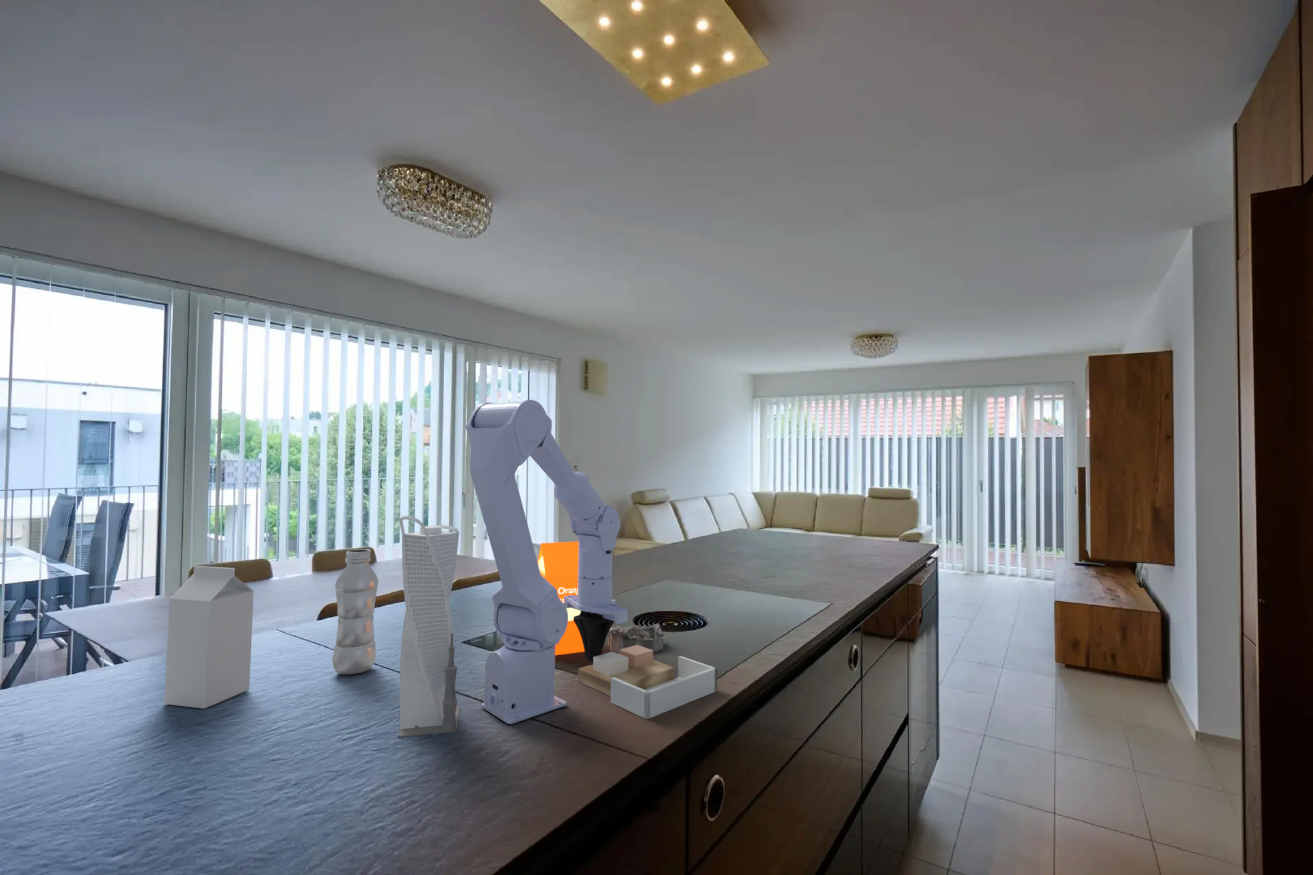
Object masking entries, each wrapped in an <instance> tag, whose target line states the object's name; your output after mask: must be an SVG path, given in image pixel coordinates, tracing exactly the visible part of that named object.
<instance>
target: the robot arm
mask: <svg viewBox="0 0 1313 875" xmlns="http://www.w3.org/2000/svg"><path fill="white" fill-rule="evenodd" d="M465 429H466V433H467V437H468V440H469V443H470V455H469V456H470V460H469V461H470V462H469V472H470V476H471V479H472V481H471V482H472V484H473V487H474V491H475V495H476V498H477V502H478V505H479V508H480V511H481V516H482V519H483V523H484V526H485V530H486V534H487V537H488V540H489V544H490V546H491V551H492V555H493V558H494V561H495V564H496V565H495V566H496V568H497V572H498V576H499V578H500V583H501V585H500V586H499V587H498V588H497V590H496V591H495V592H494V594H493V595H492V596H491V598H492V601H493V606H494V610H493V626H494V628H495V630H496V632H497V633H498V634H500V635H501V636H500V637H501V641H500V642H501V643H503V644H504V645H502V647H500V648H499V649H497V650H494V651H491V652H490V653H489V654H488V656H487V658H486V660H485V664H484V666H485V667H484V694H483V695H484V696H483V697H484V702H482V703H481V708H482V709H484V710H485V711H487V712H489V713H490V714H492V715H493V716H495V717H497V718H498V719H500V720H501V721H502V722H504V723H505V724H509V725H512V724H515V723H518V722H521V721H525V720H528V719H530V718H533V717H536V716H540V715H542V714H545V713H548V712H551V711H554V710H556V709H557V710H558V709H559V708H562V707H566V706H567V701H566V700H564V699H561V698H560V697H558V696H556V695H555V676H556V674H555V673H556V655H555V645H556V644H558V643H559V640H560V639H561V638H562V637H563V635H564V633H565V631H566V628H567V624H568V612H567V608H573V609H576V610H580V611H581V613H580V614H579V615H577V616H574V619H573V621H574V622H575V624H576V626H577V628H578V630H579V633H580V635H581V638H582V642H583V646H584V651H585V652H584V654H585V658H586V660H588V661H591V662H593V657H595V656H599V655H602V653H603V649H604V646H605V642H606V639H607V638H608V632H609V630H610V628H612V627H613V624H614V623H615V624H617V625H621V624H625V623H627V622H628V616H629V615H628V614H629V611H628V609H625V608H623V607H621V606H620V605H618V604H617V602H616V599H612V598H613V550H614V549H615V547H616V545H617V535H618V534H619V531H620V529H621V520H620V516H619V515H620V514H619V513H618V511H617V510H616V509H615V508H614V507H613V506H612V505H609V504H605V502H604V501H603V499H602V498H601V496H600V495H599V493H598V491H596V489H595V487H594V486H593V485H592V483H591V482H590V477H589V475H587V474H585V473H583V472H580V471H574V470H573V468H572V466H571V464H570V463H569V461H568V459H567V458H566V456H565V454H564V453H563V450H562V449H561V447H560V446H559V444H558V442H557V441H556V439H555V437H554V435H553V433H552V430H553V421H552V419H551V417H550V416H549V415H548V414H547V412H546V410H545V408H544V406H543V405H542V404H541V403H540V402H538V401H537V400H533V399H526V400H522V401H508V402H490V401H489V402H488V401H487V402H482V403H480V404H478V405H477V406H476V407H475V409H474V410H473V412H472V413H471V415H470V417H469V419H468V421H467V423H466V424H465ZM529 457H531V459H532V460H533V461H534V462H535V463H536V464H537V466H538V467H539V468H540V469H541V470H542V471H543V472H544V473H545V475H547V477H548V478H549V479H550V480H551V482H552V483H554V484H555V485H554V488H553V494H554V497H555V499H557V500H558V502H559V503H560V504H561V506H562V508H563V509H564V510H565V511H566V512H567V514H568V518H569V519H570V529H571V531H572V533H573V534H574V535H575V536H577V537H578V542H579V546H578V594H577V595H569V596H564V603H563V602H562V601H561V600H560V598H559V596H558V593H557V589H556V588H555V587H554V586H553V585H552V584H550V583H549V582H548V581H547V580H546V579H545V578H544V577H543V576H542V575H541V573H540V570H539V566H538V558H537V555H536V552H535V551H536V550H535V548H534V544H533V539H532V536H531V533H530V528H529V524H528V521H527V516H526V513H525V509H524V506H523V502H522V498H521V495H520V494H521V493H520V491H519V486H518V483H517V479H516V473H517V470H518V469H519V467H520V466H522V465H523V464H524V463H525V462H526V461H527V460H528V458H529Z"/></svg>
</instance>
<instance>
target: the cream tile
mask: <svg viewBox="0 0 1313 875" xmlns="http://www.w3.org/2000/svg"><path fill="white" fill-rule="evenodd" d="M592 662H593V663H592V664H593V670H595V671H598V672H600V673H602V674H605V675H607V676H612V675H615V674H618V673H621V672H624V671H628V657H625V656H623V655H620V654H619V653H617V652H612V651H609V652H607V653H603V654H601V655H599V656H595V657H593V661H592Z"/></svg>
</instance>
